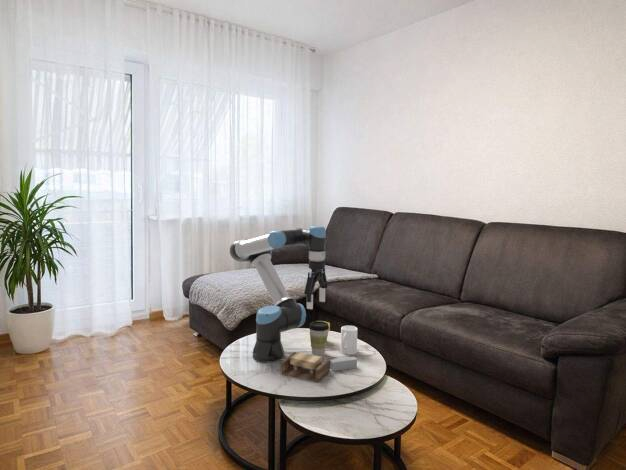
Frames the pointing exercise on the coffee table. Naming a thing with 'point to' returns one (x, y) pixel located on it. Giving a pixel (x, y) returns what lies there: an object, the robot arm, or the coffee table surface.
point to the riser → (343, 363)
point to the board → (306, 360)
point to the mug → (348, 340)
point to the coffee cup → (318, 337)
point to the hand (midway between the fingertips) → (316, 305)
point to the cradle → (305, 370)
